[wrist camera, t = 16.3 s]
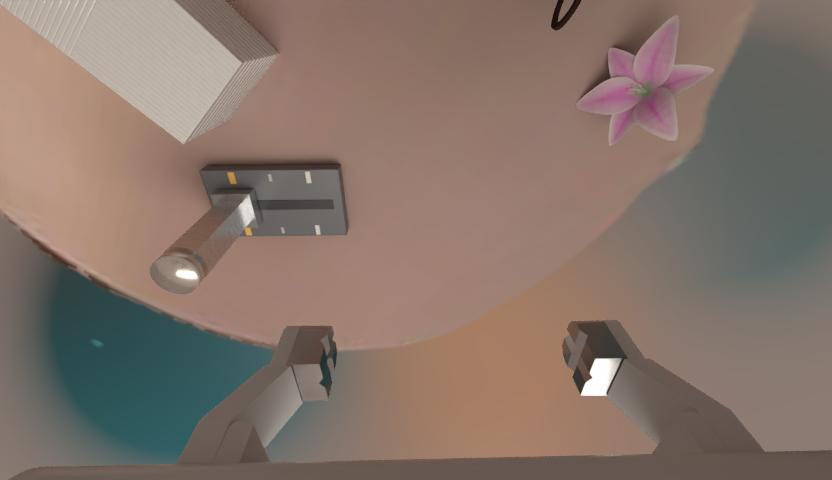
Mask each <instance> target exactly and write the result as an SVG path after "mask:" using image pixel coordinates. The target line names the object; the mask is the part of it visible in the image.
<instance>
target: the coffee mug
mask: <svg viewBox="0 0 832 480" xmlns="http://www.w3.org/2000/svg"><path fill="white" fill-rule="evenodd" d="M563 1H564V0H558V2H557V5H556V8H555V11H554V14H553V18H552V23H551V27H552V29H554V30H559V29H561V28H562V27H563V26H564V25H565V24H566V23H567V21H568V20H569V19H570V17H571V16H572V15H573V13H574V12H575V10H576V9H577V7H578V6H579V4H580V2H581V0H574V2H573V4H572V6H571V8H570V9H569V11H568V12H567V13H566V15H565V16H564V17H563V18H562V19H561V20H560V21H559V22H558V16H559V12H560V9H561V6H562V3H563Z"/></svg>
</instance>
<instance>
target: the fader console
mask: <svg viewBox="0 0 832 480" xmlns="http://www.w3.org/2000/svg"><path fill="white" fill-rule="evenodd" d="M199 172H200V174H201V177H202V180H203V183H204V186H205V188H206V191H207V194H208V197H209V200H210V203H211V205H212V207H213V206H214V204H213V202H212V199H211V196H210V194H211V193H213V192H214V191H215V190H220V189H254V192H255V196H256V200H257V203H258V207H259V211H260V214H261V218H262V221H263V222H262V224H261V225H260V226H259V228H245V229H244V230H243V231H242V233H241V234H240V235H239V236H314V235H347V232H348V220H347V212H346V204H345V196H344V188H343V180H342V172H341V165H340V164H323V165H218V166H206V167H204V168H203V169H201V170H200V171H199Z"/></svg>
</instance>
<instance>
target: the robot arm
mask: <svg viewBox="0 0 832 480" xmlns="http://www.w3.org/2000/svg"><path fill="white" fill-rule="evenodd" d="M567 329H568V332H569V333H570V334H569V335H568V336H567V337H565V338H564V342H563V345H562V346H563V356H564V359H565V362H566V364H567V366H568V367H569V368H571V369H572V370H573V371H574V374H573V379H574V382H575V384H576V386H577V388H578V390H579V392H580V395H607V398H608V399H610V400H611V401H612V402H613V403H614V404H615V405H616V406H617V407H618V408H619V409H620V410H621V411H623V413H625V414H626V415H627V416H628V417H629V418H630V419H631V420H632V421H633V422H634V423H635V424H637V425H638V426H639V427H640V428H641V429H642V430H643V431H644V432H645V433H646V434H647V435H648V436H649V437H651V438H652V439H653V440H654V441H655V442H656V443H657V444H658V446H657V447H656V449H655V450H654V452H653V453H652V454H637V455H595V456H594V455H590V456H548V457H547V456H546V457H500V458H453V459H411V460H407V459H406V460H360V461H314V462H270V460H269V458H268V455H267V453H266V451H265V447H266V446H267V445H268V444H269V443H270V441H271V440H272V439H273V438H274V436H275V435H276V434H277V433H278V432H279V431H280V429H281V428H282V427H283V426H284V424H285V423H286V422H287V421H288V420H289V419H290V417H291V416H292V415H293V414H294V413H295V411H296V410H297V409H298V408H299V407H300V405H301V404H302V401H321V400H328V399H329V395H330V390H331V385H332V379H331V374H332V373H333V372H334V371H335V367H336V359H337V347H336V343H335V342H334V341H333V340H332V339H333V335H334V332H333V328H332V326H287V327H286V328H285V329H284V331H283V333H282V336H281V338H280V341H279V343H278V345H277V348H276V350H275V353H274V355H273V358H272V360H271V362H270V365H269V366H264V367H263V368H262V369H261V370H259V371H258V372H257V373H256V374H254V375H253V376H252V377H251V378H250V379H248V380H247V381H246V382H245V383H244V384H242V385H241V386H240V387H239V388H238V389H236V390H235V391H234V392H233V393H232V394H230V395H229V396H228V397H227V398H226V399H224V400H223V401H222V402H221V403H220V404H218V405H217V406H216V407H215V408H214V409H213V410H211V411H210V412H209V413H208V414H206V415H205V416H204V417H203V418H202V419H200V421H199V422H198V424H197V426H196V428H195V430H194V432H193V434H192V435H191V437H190V439H189V442H188V443H187V445H186V447H185V449H184V451H183V453H182V454H181V456H180V458H179V460H178V462H177V464H167V465H118V466H73V467H72V466H67V467H66V466H63V467H62V466H60V467H39V468H33V469H29V470H26V471H24V472H21V473H19V474H17V475H16V476H14V477H12V478H10V479H8V480H832V450H827V451H826V450H823V451H778V452H765V451H764V450H763V449H762V448H761V446H760V445H759V444H758V443H757V441H756V440H755V439H754V438H753V437H752V435H751V434H750V433H749V432H748V430H747V429H746V428H745V427H744V426H743V424H742V423H741V422H740V421H739V420H738V418H737V417H736V416H735V415H734V413H733V412H732V411H731V410H730V409H728V408H727V407H725V406H724V405H722V404H720V403H719V402H717V401H716V400H714V399H713V398H711V397H709V396H708V395H706V394H705V393H703V392H701V391H700V390H698V389H697V388H695V387H694V386H692V385H690V384H689V383H687V382H686V381H684V380H683V379H681V378H680V377H678V376H676V375H675V374H673V373H672V372H670V371H668V370H667V369H665V368H664V367H662V366H661V365H659V364H657V363H656V362H654V361H653V360H651V359H645V358H644V356H643V355H642V353H641V352H640V350H639V349H638V348H637V346H636V345H635V343H634V342H633V341H632V339H631V338H630V336H629V335H628V333H627V332H626V331H625V329H624V328H623V326H622V325H621V324H620V322H618V321H617V320H601V321H599V320H597V321H571V322H570V323H569V326H568V328H567Z"/></svg>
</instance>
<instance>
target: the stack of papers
mask: <svg viewBox="0 0 832 480" xmlns="http://www.w3.org/2000/svg"><path fill="white" fill-rule="evenodd" d="M0 5H1V6H3V7H4V8H5V9H7V10H8V11H9V12H11V13H12V14H13V15H15V16H16V17H17V18H19V19H20V20H21V21H22V22H24V23H25V24H26V25H28V26H29V27H30V28H32V29H33V30H34V31H36V32H37V33H38V34H40V35H41V36H42V37H43V38H45V39H46V40H47V41H49V42H50V43H51V44H53V45H54V46H55V47H57V48H58V49H59V50H61V51H62V52H63V53H64V54H66V55H67V56H68V57H70V58H71V59H72V60H74V61H75V62H76V63H78V64H79V65H80V66H81V67H83V68H84V69H85V70H87V71H88V72H89V73H91V74H92V75H93V76H95V77H96V78H97V79H99V80H100V81H101V82H102V83H104V84H105V85H106V86H108V87H109V88H110V89H112V90H113V91H114V92H116V93H117V94H118V95H120V96H121V97H122V98H123V99H125V100H126V101H127V102H129V103H130V104H131V105H133V106H134V107H135V108H137V109H138V110H139V111H141V112H142V113H143V114H144V115H146V116H147V117H148V118H150V119H151V120H152V121H154V122H155V123H156V124H158V125H159V126H160V127H162V128H163V129H164V130H165V131H167V132H168V133H169V134H171V135H172V136H173V137H175V138H176V139H177V140H179V141H180V142H181V143H183V144H185V143H187V142H188V141H191V140H192V139H194V138H196V137H198V136H200V135H202V134H203V133H206V132H207V131H209V130H211V129H213V128H215V127H217V126H219V125H220V124H222V123H223V122H226V121H228V120H230V119H231V117H232V116H233V115H234V113H235V112H236V111H237V109H238V108H239V107H240V105H241V104H242V103H243V102H244V100H245V99H246V98H247V96H248V95H249V94H250V92H251V91H252V90H253V88H254V87H255V86H256V84H257V83H258V82H259V81H260V79H261V78H262V77H263V75H264V74H265V73H266V71H267V70H268V69H269V67H270V66H271V65H272V63H273V62H274V61H275V59H276V58H277V57H278V56H279V53H278V52H277V51H276V50H275V49H274V48H273V47H272V46H271V45H270V44H269V43H268V42H267V41H266V40H265V39H264V38H263V37H262V36H261V35H260V34H259V33H258V32H257V31H256V30H255V29H254V28H253V27H252V26H251V25H250V24H249V23H248V22H247V21H246V20H245V19H244V18H243V17H242V16H241V15H240V14H239V13H238V12H237V11H236V10H235V9H234V8H233V7H232V6H231V5H230V4H229V3H228V2H227V1H226V0H0Z"/></svg>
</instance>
